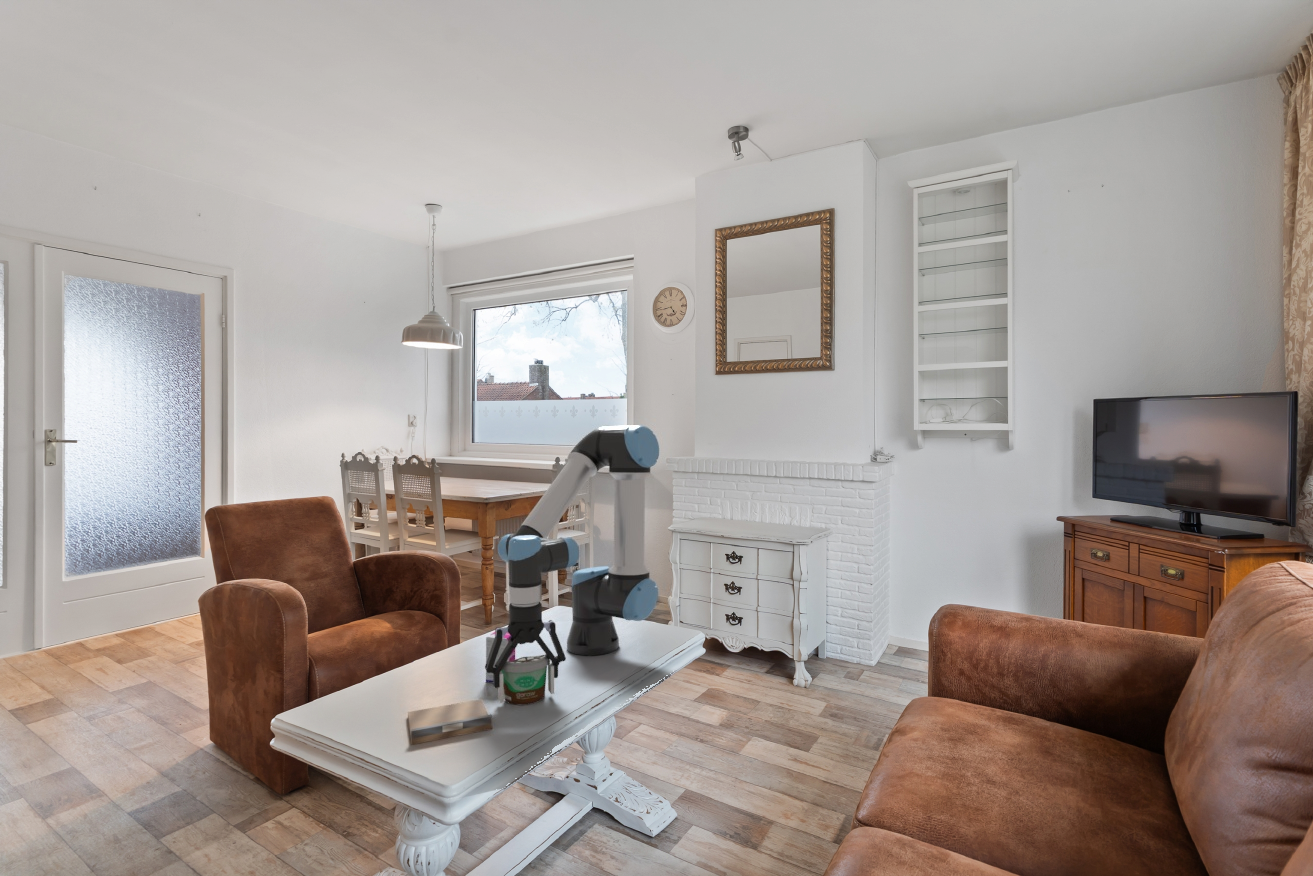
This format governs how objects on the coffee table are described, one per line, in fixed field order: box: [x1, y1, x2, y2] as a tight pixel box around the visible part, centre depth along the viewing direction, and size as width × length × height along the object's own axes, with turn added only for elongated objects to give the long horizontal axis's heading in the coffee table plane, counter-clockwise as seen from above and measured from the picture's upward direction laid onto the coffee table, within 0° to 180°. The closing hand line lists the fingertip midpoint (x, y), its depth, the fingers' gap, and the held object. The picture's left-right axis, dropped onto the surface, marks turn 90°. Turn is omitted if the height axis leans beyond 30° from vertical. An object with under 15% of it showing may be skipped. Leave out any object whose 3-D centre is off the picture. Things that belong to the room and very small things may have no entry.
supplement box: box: [485, 631, 516, 684], centre depth 165 cm, size 6×6×12 cm
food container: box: [501, 653, 551, 706], centre depth 151 cm, size 12×6×10 cm, turn 117°
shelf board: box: [407, 698, 493, 745], centre depth 140 cm, size 16×14×3 cm
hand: (526, 696), depth 151 cm, fingers closed on food container, 11 cm apart
